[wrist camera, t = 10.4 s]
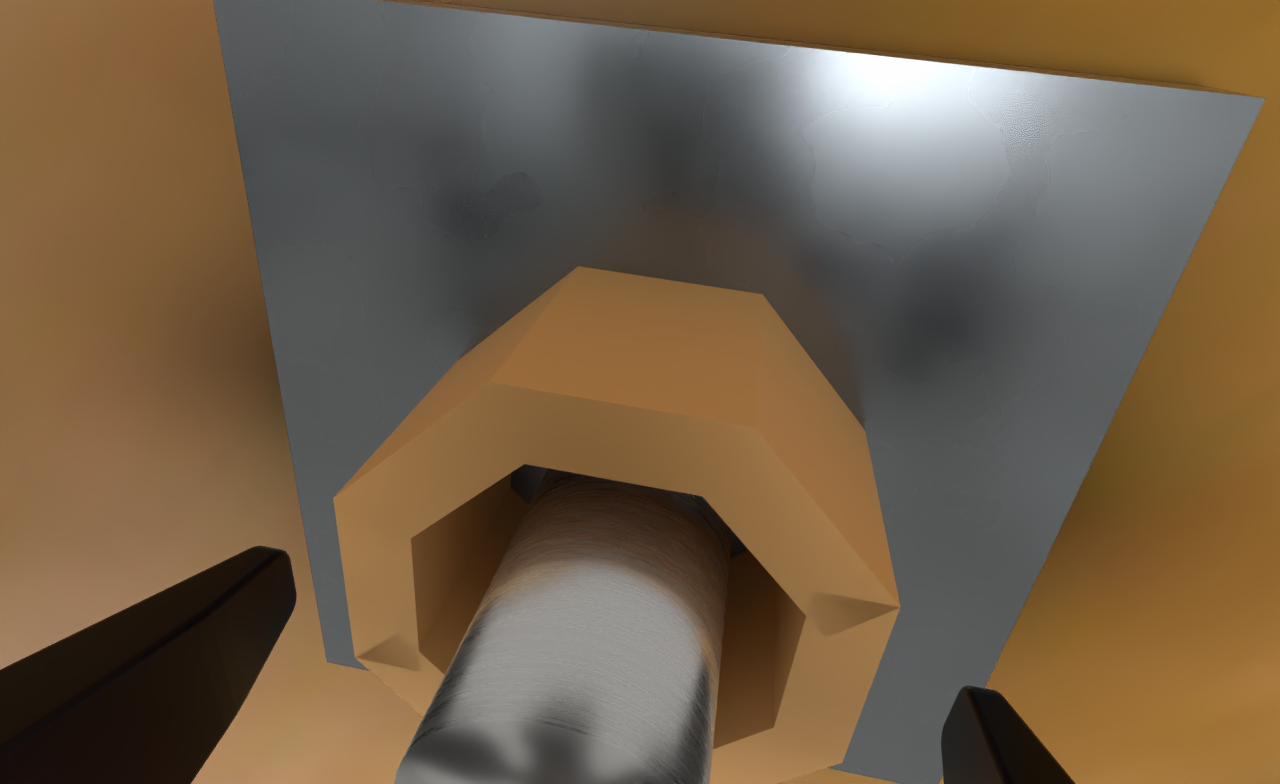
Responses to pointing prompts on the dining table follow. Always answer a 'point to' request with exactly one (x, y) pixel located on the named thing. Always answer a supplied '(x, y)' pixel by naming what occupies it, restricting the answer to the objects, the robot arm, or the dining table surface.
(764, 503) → the collar
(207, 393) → the dining table surface
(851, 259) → the piston stand
